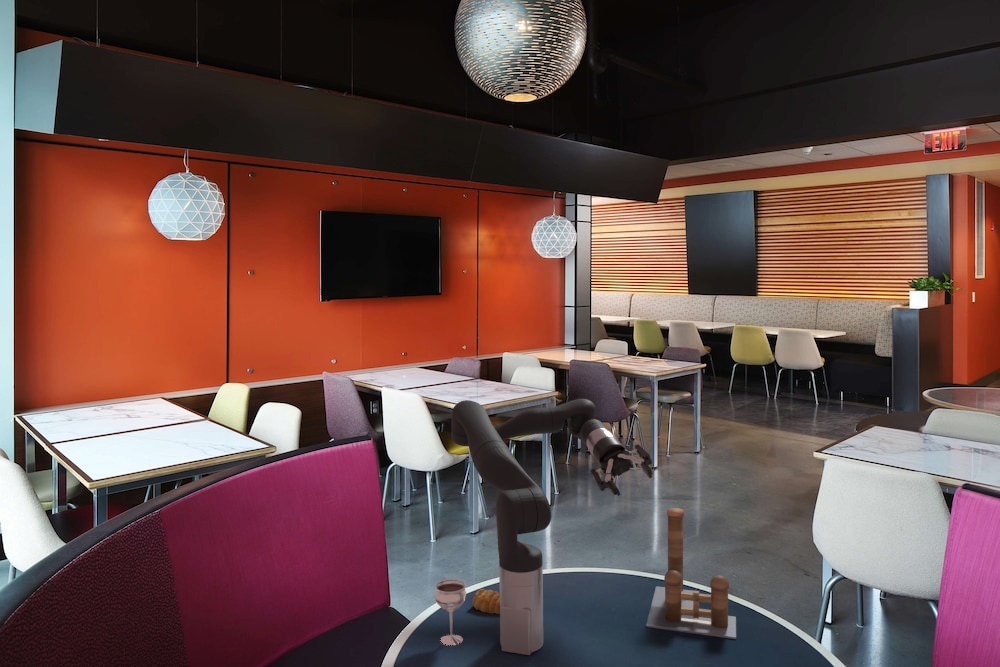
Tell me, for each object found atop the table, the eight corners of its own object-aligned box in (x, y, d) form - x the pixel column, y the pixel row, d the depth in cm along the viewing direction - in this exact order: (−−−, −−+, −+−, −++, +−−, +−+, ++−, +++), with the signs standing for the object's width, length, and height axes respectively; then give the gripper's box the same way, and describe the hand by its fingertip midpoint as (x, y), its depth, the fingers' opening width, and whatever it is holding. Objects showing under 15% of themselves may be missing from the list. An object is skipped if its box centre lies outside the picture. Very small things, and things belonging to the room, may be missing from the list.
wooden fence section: (682, 612, 159) (682, 523, 158) (664, 610, 160) (664, 522, 159) (684, 591, 170) (684, 508, 169) (667, 589, 171) (667, 507, 170)
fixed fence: (728, 631, 152) (729, 580, 151) (663, 622, 156) (663, 573, 156) (728, 623, 156) (729, 573, 155) (665, 615, 160) (665, 566, 159)
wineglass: (447, 651, 145) (446, 595, 144) (429, 639, 150) (428, 585, 150) (473, 640, 149) (472, 586, 149) (455, 629, 155) (454, 576, 154)
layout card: (736, 639, 148) (736, 636, 148) (646, 626, 154) (646, 624, 154) (735, 597, 169) (735, 595, 169) (656, 587, 175) (656, 585, 175)
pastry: (517, 607, 165) (517, 592, 165) (503, 619, 160) (502, 603, 159) (484, 599, 170) (483, 584, 170) (469, 610, 164) (468, 594, 164)
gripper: (634, 446, 178) (665, 480, 163) (586, 472, 177) (612, 510, 162) (625, 424, 174) (656, 457, 160) (576, 451, 173) (602, 487, 159)
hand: (634, 484), depth 161 cm, fingers open, 8 cm apart
